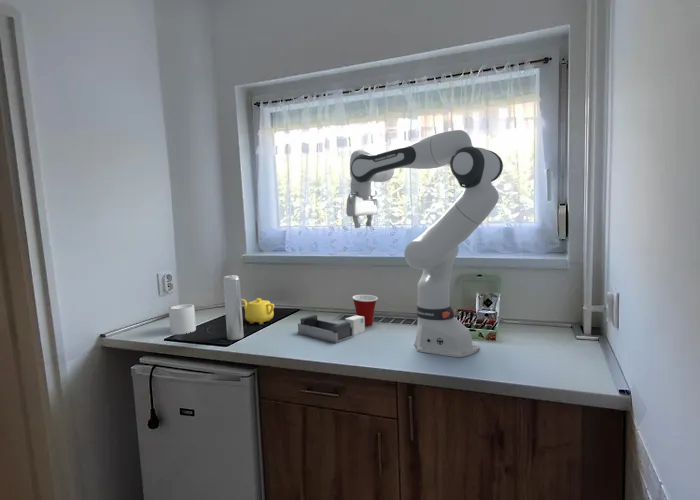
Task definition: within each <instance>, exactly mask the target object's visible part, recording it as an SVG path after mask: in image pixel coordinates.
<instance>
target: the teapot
mask: <svg viewBox="0 0 700 500" xmlns="http://www.w3.org/2000/svg"><path fill="white" fill-rule="evenodd" d="M241 302H243V307H244V318H245V320H246V321H247V322H249V324H255V323H258V325H264V322H265V323H266V322H270V321H271V320H272V319H273V318H274V314H275V313H274V309H275V304H274V303H271V302H270V300H264V299H262V298H259V297H257V298H255V299H254V300H252V301H249V302H247V300H246V299H245V298H241Z"/></svg>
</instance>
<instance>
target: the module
mask: <svg viewBox="0 0 700 500" xmlns="http://www.w3.org/2000/svg"><path fill="white" fill-rule="evenodd" d="M344 320H345V321H344V323H345V322H349V323H350V327H353V329H354V336H356V335H359V334H361V333H364V332H365V331H366V326H365V320H364V317H363V316H358V315H357V314H355V315H353V316H349V317H346V318H345V319H344Z"/></svg>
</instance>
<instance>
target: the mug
mask: <svg viewBox="0 0 700 500" xmlns="http://www.w3.org/2000/svg"><path fill="white" fill-rule="evenodd" d="M195 311H196V310H195V305H194V304H192V303H181V304H176V305H172V306H170V307H168V316H169V328H170V329H169V330H170V334H172V335H186V333H187V334H190V332H191V333H194V332H195V331H196V330H197V323H196V312H195Z"/></svg>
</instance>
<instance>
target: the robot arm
mask: <svg viewBox="0 0 700 500" xmlns="http://www.w3.org/2000/svg"><path fill="white" fill-rule="evenodd" d="M446 166H449V168H450V171H451V174H452V175H453V176H454V178H455V179H456V180H457V183H458V185H459V187H462V188H464V190H463V192H461V195H459V197H458V198H457V199H456V200H455V201H454V202H453V203H452V205H451V206H450V207H449V208H448V209H447V210H446V211H445V213H444V214H443V215H442V216H440V218H439V219H438V220H437V221H435V222H434V223H433V224H431V225H430V226H429V227H428V228H426V229H425V230H424V231H423V232H422V233H421V234H420V235H419V236H417V237H416V238H415V239H413V240H412V241H410V242H409V243H408V244H407V245H406V247H405V249H404V253H403V254H404V259H405V262H406V263H407V265H408V266H409V267H410V268H412V269H416V270H423V271H422V274H421V276H420V278H419V280H418V282H417V287H416V288H417V305H416V317H417V327H416V329H417V330H416V334H415V335H416V336H415V340H414V344H413V345H414V347H416V348H417V349H416V350H417V351H418V352H419V353H420V352H421V353H427V354H433V355H434V354H435V355H439V356H447V357H453V358H464V357H468V356H471V355H473V354H475V353H476V352H478V351H479V350H480V345H479V344H478V343H477V342H476V343H475V342H473V338H472V334H471V331H470V329H469V328H468V327H466V326H465V325H464V324H463V323H462V322H461V321H460V320H459V319H457V318H456V317H455V314H454V313H457V308H455V309H453V308H452V305H450V283H451V278H452V271H453V266H454V263H455V259H456V258H457V256H458V254H459V248H460V247H459V245H460V244H462V243H463V242H465V241H466V240H467V239H468V238H469V237H470V236H471V234H473V233H474V232H475V231H476V230H477V229H478V228H479V227H480V225H481V224H482V223H483V222H484V221H485V220H486V219H487V217H488V216H489V215H490V214H491V213H492V211H493V210H494V208H495V207H496V205H497V204H498V203H499V199H500V196H499V192H498V190H497V188H496V187H495V186H494V185H493V182H494V181H495V180H497V179H498V178H499V177H500V176H501V175H502V173H503V170H504V162H503V161H502V158H501V157H500V156H499V154H497V153H496V152H494V151H492V150H490V149H486V148H483V147H475V146H473V144H472V140H471V137H470V135H469V134H468V133H467V132H466V131H464V130H462V129H456V130H454V129H453V130H449V131H448V130H447V131H443V132H440V133H436V134H433V135H431V136H428V137H425V138H423V139H420V140H417V141H416V142H413V143H410V144H407V145H405V146H402V147H398V148H396V149H392V150H388V151H385V152H382V153H378V154H377V153H374V152H372V151H371V150H370V149H368V148H361V149H357V150H354V151H353V152H352V153H351V155H350V158H349V174H350V178H351V180H350V192H349V195H348V197H347V199H346V208H345V209H346V215H347V217H352V221H353V224H354V228H355V229H360V228H361V223H360V221H359V219H360V217H363V216H366V222H365V226H366V227H372V222H373V218H374V215H378V212H379V198H378V197H379V191H378V189H377V188H375V187H374V183H385V182H387V181H390V180H391V179H392V178H393V176H394V173H395V169H415V170H416V169H417V170H436V169H439V168H443V167H446Z"/></svg>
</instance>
